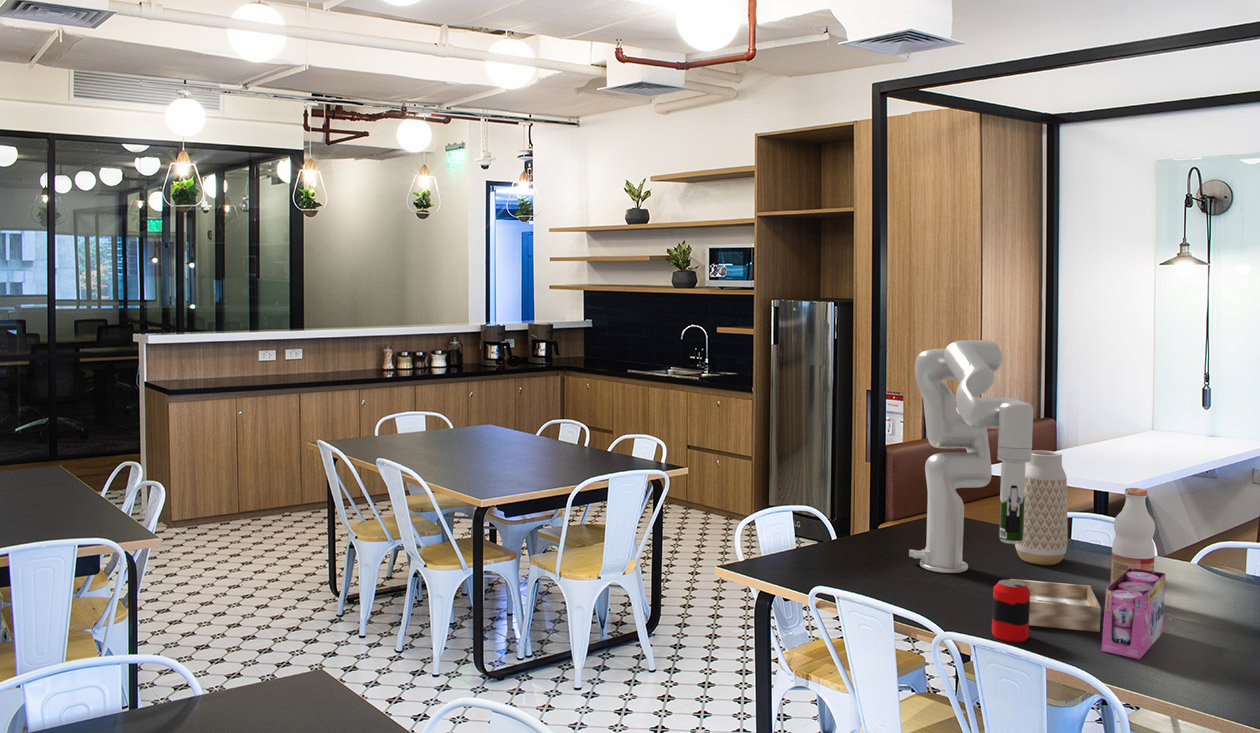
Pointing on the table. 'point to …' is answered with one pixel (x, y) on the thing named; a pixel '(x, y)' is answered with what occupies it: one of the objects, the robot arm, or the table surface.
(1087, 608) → the crate
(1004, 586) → the soda can
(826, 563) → the table surface
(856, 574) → the table surface
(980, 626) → the table surface
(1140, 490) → the fruit juice
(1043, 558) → the vase
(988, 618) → the table surface
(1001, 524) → the beer can
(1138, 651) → the gum box
